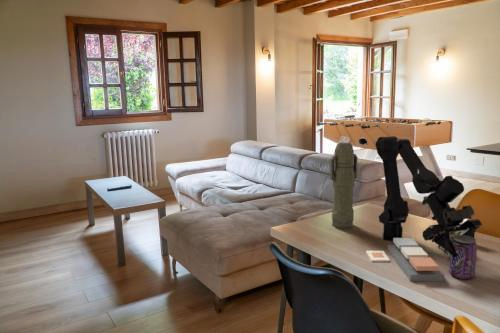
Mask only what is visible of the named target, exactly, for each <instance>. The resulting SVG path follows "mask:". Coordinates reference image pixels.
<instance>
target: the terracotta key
mask: <svg viewBox="0 0 500 333" xmlns="http://www.w3.org/2000/svg"><path fill="white" fill-rule="evenodd" d="M409 262H410V263H411V264H412V266H413V267H414V268H415V269H416V271H439V270H440V265H439V264H438V263H437V262H436V261H435V260H433V258H432V257H430V256H428V257H409Z"/></svg>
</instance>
